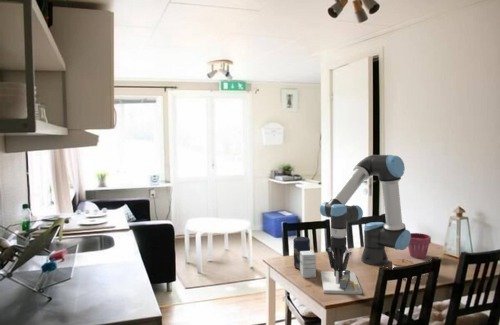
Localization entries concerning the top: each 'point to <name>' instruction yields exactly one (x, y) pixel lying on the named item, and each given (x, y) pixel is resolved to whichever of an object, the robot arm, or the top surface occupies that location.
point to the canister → (300, 248)
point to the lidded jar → (401, 263)
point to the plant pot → (419, 245)
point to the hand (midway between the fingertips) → (338, 283)
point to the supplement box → (307, 264)
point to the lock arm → (344, 279)
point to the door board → (332, 287)
